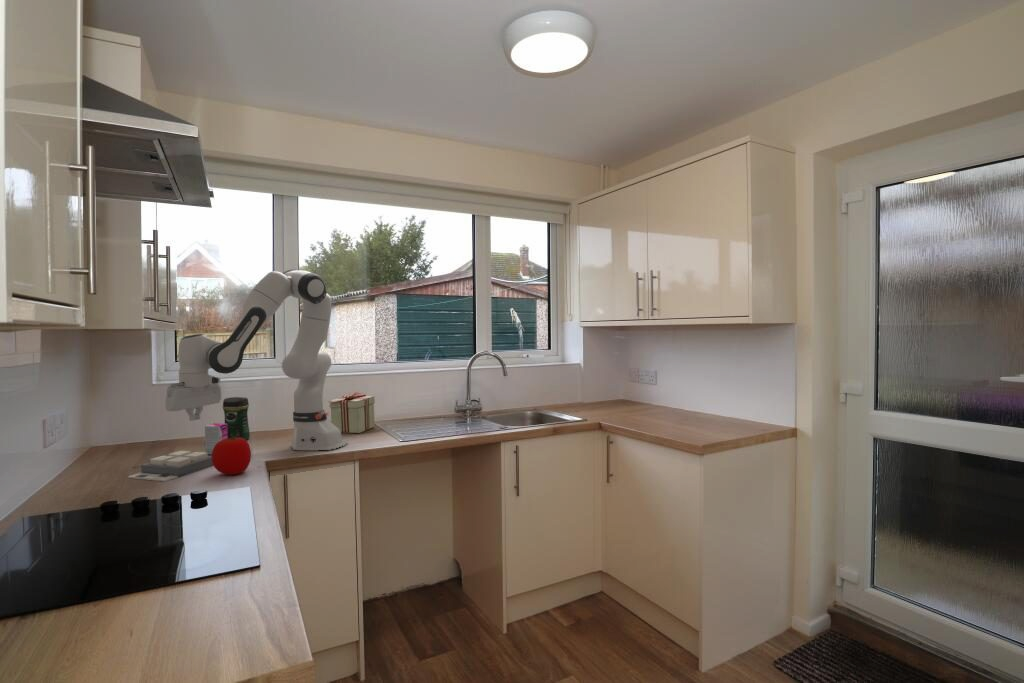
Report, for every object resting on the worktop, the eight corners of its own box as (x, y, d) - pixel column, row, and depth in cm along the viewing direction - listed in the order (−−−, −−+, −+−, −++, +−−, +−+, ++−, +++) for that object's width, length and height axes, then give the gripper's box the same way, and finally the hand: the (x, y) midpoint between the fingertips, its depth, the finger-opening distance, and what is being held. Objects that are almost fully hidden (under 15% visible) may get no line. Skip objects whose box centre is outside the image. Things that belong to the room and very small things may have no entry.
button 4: (207, 459, 185) (207, 452, 185) (196, 463, 181) (195, 456, 180) (196, 458, 187) (196, 451, 187) (184, 462, 182) (184, 455, 182)
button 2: (191, 464, 179) (190, 457, 178) (178, 468, 174) (178, 461, 174) (179, 463, 180) (179, 456, 180) (166, 467, 175) (166, 460, 175)
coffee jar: (253, 438, 228) (251, 396, 227) (242, 442, 220) (240, 398, 219) (232, 437, 229) (230, 395, 228) (220, 442, 221) (219, 398, 220)
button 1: (174, 463, 180) (174, 456, 180) (161, 467, 176) (161, 460, 175) (163, 462, 182) (163, 455, 182) (150, 466, 177) (149, 459, 177)
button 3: (192, 458, 187) (191, 451, 187) (179, 461, 182) (179, 455, 182) (180, 457, 188) (180, 450, 188) (168, 460, 184) (168, 454, 184)
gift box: (340, 425, 254) (339, 390, 253) (376, 427, 251) (375, 391, 250) (322, 433, 237) (321, 395, 236) (360, 434, 234) (359, 396, 233)
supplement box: (219, 456, 198) (218, 426, 198) (204, 455, 199) (203, 426, 198) (228, 452, 204) (227, 423, 204) (214, 451, 205) (213, 422, 204)
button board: (216, 464, 187) (215, 456, 187) (165, 481, 167) (165, 472, 167) (181, 461, 191) (181, 453, 191) (127, 477, 171) (127, 468, 171)
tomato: (260, 470, 179) (259, 434, 178) (231, 480, 168) (230, 441, 167) (232, 467, 183) (231, 431, 183) (203, 476, 172) (202, 439, 172)
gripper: (174, 384, 171) (176, 426, 172) (224, 377, 191) (224, 415, 192) (159, 383, 173) (160, 425, 174) (209, 377, 193) (210, 414, 193)
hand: (194, 420), depth 183 cm, fingers closed
